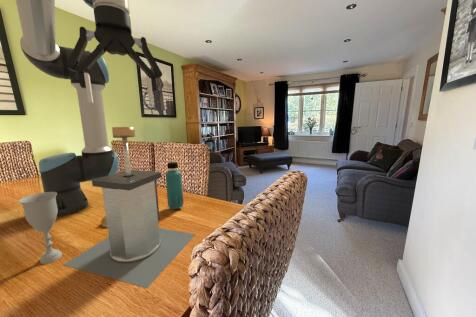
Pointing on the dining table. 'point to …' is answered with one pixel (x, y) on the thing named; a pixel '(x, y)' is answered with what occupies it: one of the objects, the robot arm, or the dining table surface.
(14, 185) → the dining table surface
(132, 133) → the plunger
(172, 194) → the beverage bottle
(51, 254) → the chalice
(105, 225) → the bread roll
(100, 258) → the slate mat
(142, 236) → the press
